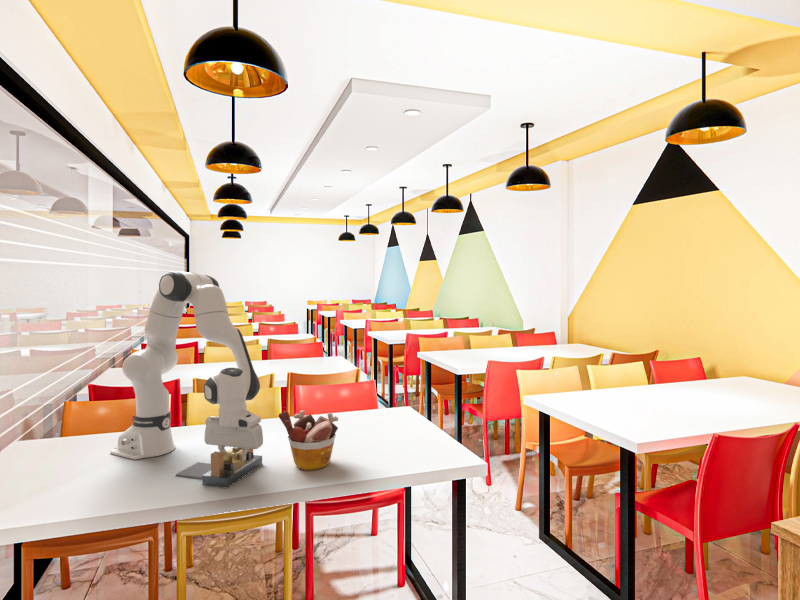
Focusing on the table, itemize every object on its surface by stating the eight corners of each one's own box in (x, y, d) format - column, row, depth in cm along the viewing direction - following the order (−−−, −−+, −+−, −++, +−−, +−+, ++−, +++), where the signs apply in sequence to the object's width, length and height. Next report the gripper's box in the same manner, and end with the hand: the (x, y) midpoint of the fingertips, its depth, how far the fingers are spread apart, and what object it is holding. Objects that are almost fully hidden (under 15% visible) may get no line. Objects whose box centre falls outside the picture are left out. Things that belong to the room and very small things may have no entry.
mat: (175, 476, 161) (175, 474, 161) (198, 463, 172) (197, 462, 172) (204, 479, 158) (204, 477, 158) (225, 467, 169) (225, 465, 169)
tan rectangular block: (232, 468, 158) (232, 453, 158) (220, 467, 159) (219, 452, 159) (246, 459, 166) (246, 445, 165) (234, 458, 167) (234, 444, 167)
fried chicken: (332, 453, 182) (331, 399, 181) (345, 468, 167) (344, 411, 166) (277, 461, 174) (276, 405, 173) (285, 478, 159) (284, 417, 158)
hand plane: (227, 488, 152) (226, 456, 151) (202, 484, 154) (201, 453, 154) (262, 464, 171) (261, 436, 171) (239, 461, 173) (239, 433, 173)
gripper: (199, 418, 162) (200, 459, 162) (254, 423, 156) (255, 465, 157) (211, 413, 168) (212, 453, 168) (265, 417, 162) (265, 458, 163)
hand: (233, 459), depth 162 cm, fingers open, 5 cm apart
